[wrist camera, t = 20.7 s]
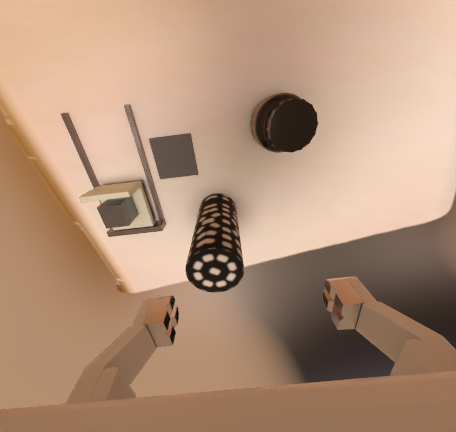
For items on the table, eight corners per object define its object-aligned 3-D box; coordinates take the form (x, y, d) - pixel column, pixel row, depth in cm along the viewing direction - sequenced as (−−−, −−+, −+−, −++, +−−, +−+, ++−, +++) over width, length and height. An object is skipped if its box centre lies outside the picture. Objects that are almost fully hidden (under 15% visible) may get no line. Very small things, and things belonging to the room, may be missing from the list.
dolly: (102, 183, 43) (78, 197, 36) (143, 178, 42) (128, 191, 35) (119, 224, 47) (101, 243, 40) (156, 219, 47) (145, 238, 40)
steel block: (110, 197, 41) (96, 207, 37) (131, 194, 41) (120, 204, 36) (118, 216, 43) (106, 228, 39) (138, 214, 43) (129, 225, 39)
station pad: (149, 138, 39) (148, 138, 39) (190, 133, 39) (190, 133, 38) (160, 178, 43) (160, 179, 42) (197, 174, 42) (197, 174, 42)
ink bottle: (251, 151, 41) (262, 166, 30) (244, 102, 37) (252, 99, 26) (300, 141, 40) (328, 151, 29) (297, 89, 36) (329, 80, 25)
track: (63, 113, 37) (51, 113, 34) (130, 104, 36) (122, 104, 34) (115, 229, 48) (108, 236, 45) (165, 224, 48) (162, 230, 45)
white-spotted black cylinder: (194, 218, 47) (177, 282, 29) (208, 187, 44) (198, 239, 26) (226, 230, 49) (228, 298, 31) (242, 202, 46) (254, 260, 28)
